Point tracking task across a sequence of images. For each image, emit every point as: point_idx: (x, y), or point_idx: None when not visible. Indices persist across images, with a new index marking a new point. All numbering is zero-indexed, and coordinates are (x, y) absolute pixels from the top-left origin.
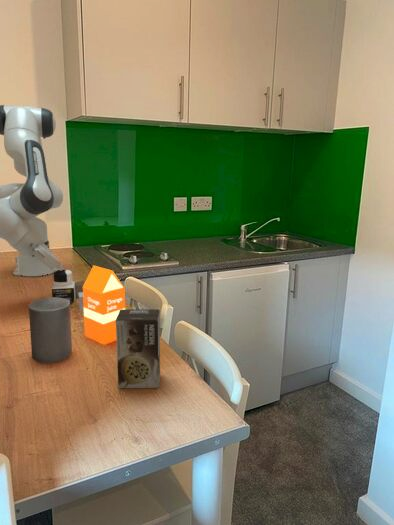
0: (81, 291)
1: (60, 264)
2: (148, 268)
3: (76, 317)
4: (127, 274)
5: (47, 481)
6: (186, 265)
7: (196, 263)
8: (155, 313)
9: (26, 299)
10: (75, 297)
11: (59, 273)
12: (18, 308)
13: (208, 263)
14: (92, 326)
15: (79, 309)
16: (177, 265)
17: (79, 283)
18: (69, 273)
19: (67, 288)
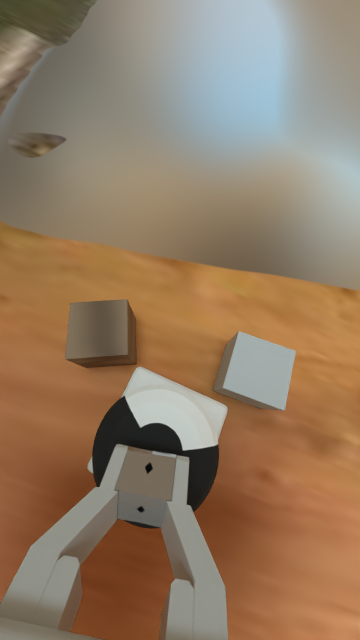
0: (132, 341)
1: (184, 505)
2: (12, 91)
3: (315, 443)
4: (17, 148)
5: None
6: (63, 34)
7: (66, 16)
8: None
9: (5, 552)
10: (122, 364)
11: (194, 496)
12: (98, 634)
13: (86, 5)
14: None
15: (252, 405)
16: (47, 43)
17: (103, 331)
18: (208, 419)
19: (218, 437)
